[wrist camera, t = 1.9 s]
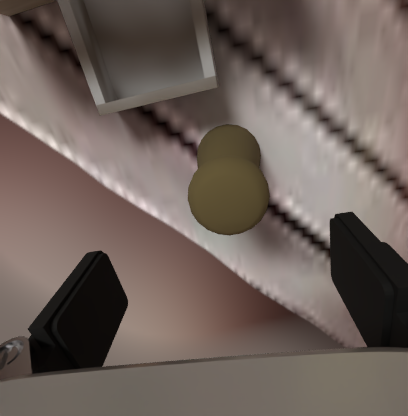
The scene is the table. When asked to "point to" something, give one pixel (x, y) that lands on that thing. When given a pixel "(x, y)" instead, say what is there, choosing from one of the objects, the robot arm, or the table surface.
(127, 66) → the wall board holder
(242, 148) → the olive rounded piece
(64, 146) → the table surface
